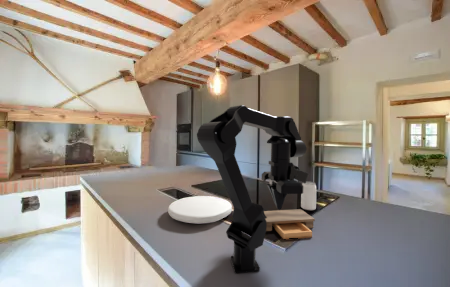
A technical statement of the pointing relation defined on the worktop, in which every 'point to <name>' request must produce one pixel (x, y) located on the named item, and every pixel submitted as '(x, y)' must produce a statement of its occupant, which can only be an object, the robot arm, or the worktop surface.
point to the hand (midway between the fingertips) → (278, 209)
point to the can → (308, 196)
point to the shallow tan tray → (292, 230)
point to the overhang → (288, 217)
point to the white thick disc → (199, 209)
